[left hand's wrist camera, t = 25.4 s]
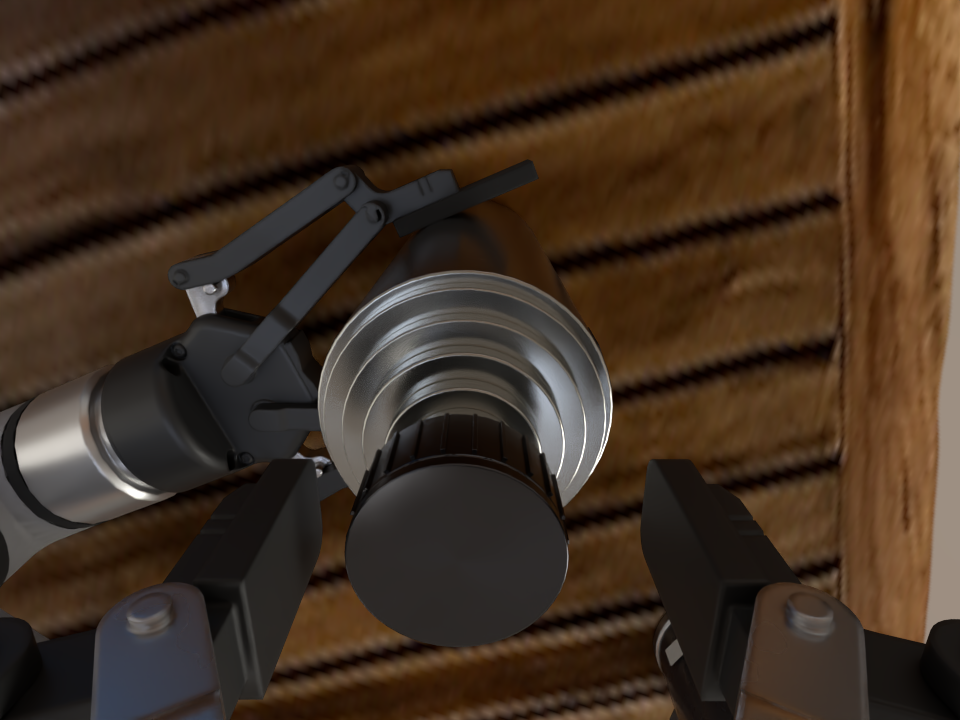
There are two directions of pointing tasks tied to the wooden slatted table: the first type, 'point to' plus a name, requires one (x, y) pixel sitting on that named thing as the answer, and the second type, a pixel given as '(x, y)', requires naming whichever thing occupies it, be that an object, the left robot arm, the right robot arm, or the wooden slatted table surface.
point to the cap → (457, 532)
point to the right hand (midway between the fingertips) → (565, 259)
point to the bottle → (468, 350)
